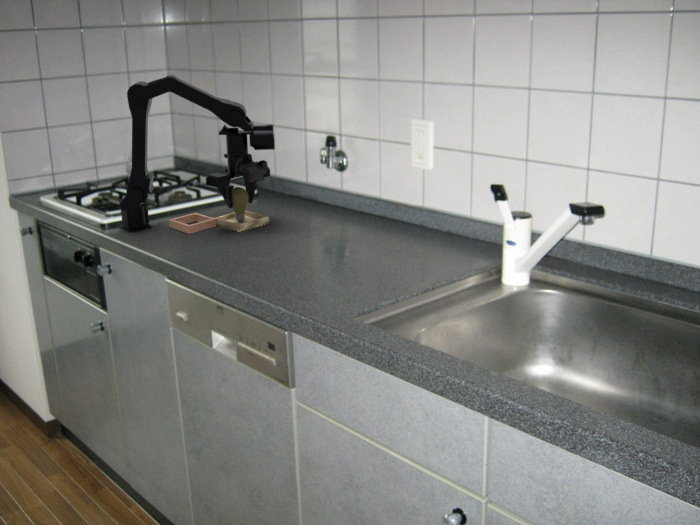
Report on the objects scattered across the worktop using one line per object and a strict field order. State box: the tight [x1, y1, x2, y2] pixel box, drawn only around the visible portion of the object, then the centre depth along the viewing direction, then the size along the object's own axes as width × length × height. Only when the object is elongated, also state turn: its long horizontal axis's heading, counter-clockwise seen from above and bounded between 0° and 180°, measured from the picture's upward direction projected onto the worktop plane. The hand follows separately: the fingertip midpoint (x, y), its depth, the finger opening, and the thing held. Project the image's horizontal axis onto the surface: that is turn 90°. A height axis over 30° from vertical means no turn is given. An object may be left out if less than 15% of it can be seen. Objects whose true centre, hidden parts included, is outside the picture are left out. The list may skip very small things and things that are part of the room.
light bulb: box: [232, 186, 249, 222], centre depth 215 cm, size 6×6×10 cm
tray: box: [214, 209, 270, 233], centre depth 217 cm, size 11×11×2 cm
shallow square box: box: [168, 212, 217, 235], centre depth 215 cm, size 9×9×2 cm
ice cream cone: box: [125, 149, 132, 178], centre depth 245 cm, size 5×5×15 cm
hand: (240, 205), depth 215 cm, fingers open, 7 cm apart
